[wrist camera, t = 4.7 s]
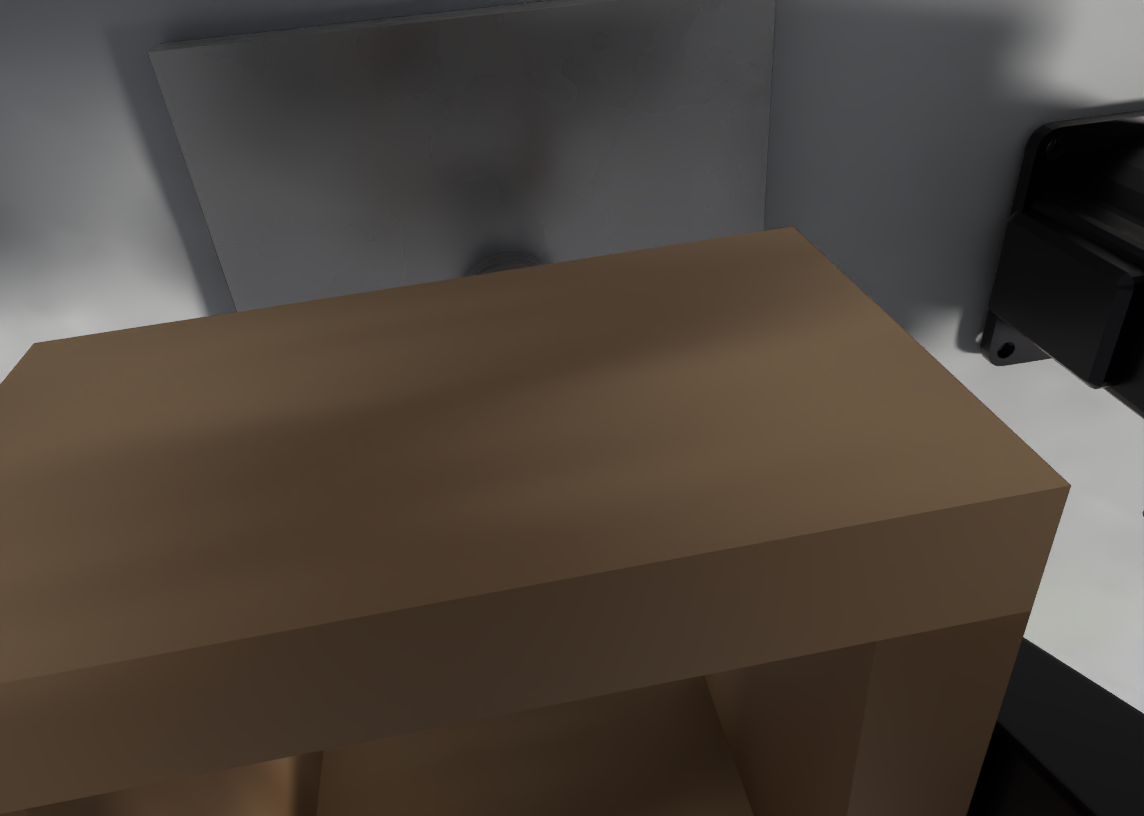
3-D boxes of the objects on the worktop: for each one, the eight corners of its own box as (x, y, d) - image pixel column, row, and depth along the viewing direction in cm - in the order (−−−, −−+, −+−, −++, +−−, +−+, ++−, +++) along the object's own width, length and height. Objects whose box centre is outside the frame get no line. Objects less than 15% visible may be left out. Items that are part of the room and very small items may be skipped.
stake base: (759, -23, 17) (901, 18, 12) (739, 444, 23) (824, 597, 19) (161, 43, 16) (42, 119, 11) (318, 511, 22) (288, 691, 18)
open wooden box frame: (793, 226, 8) (1072, 484, 4) (765, 690, 12) (903, 1012, 8) (34, 343, 7) (-290, 738, 4) (270, 788, 11) (209, 1177, 8)
